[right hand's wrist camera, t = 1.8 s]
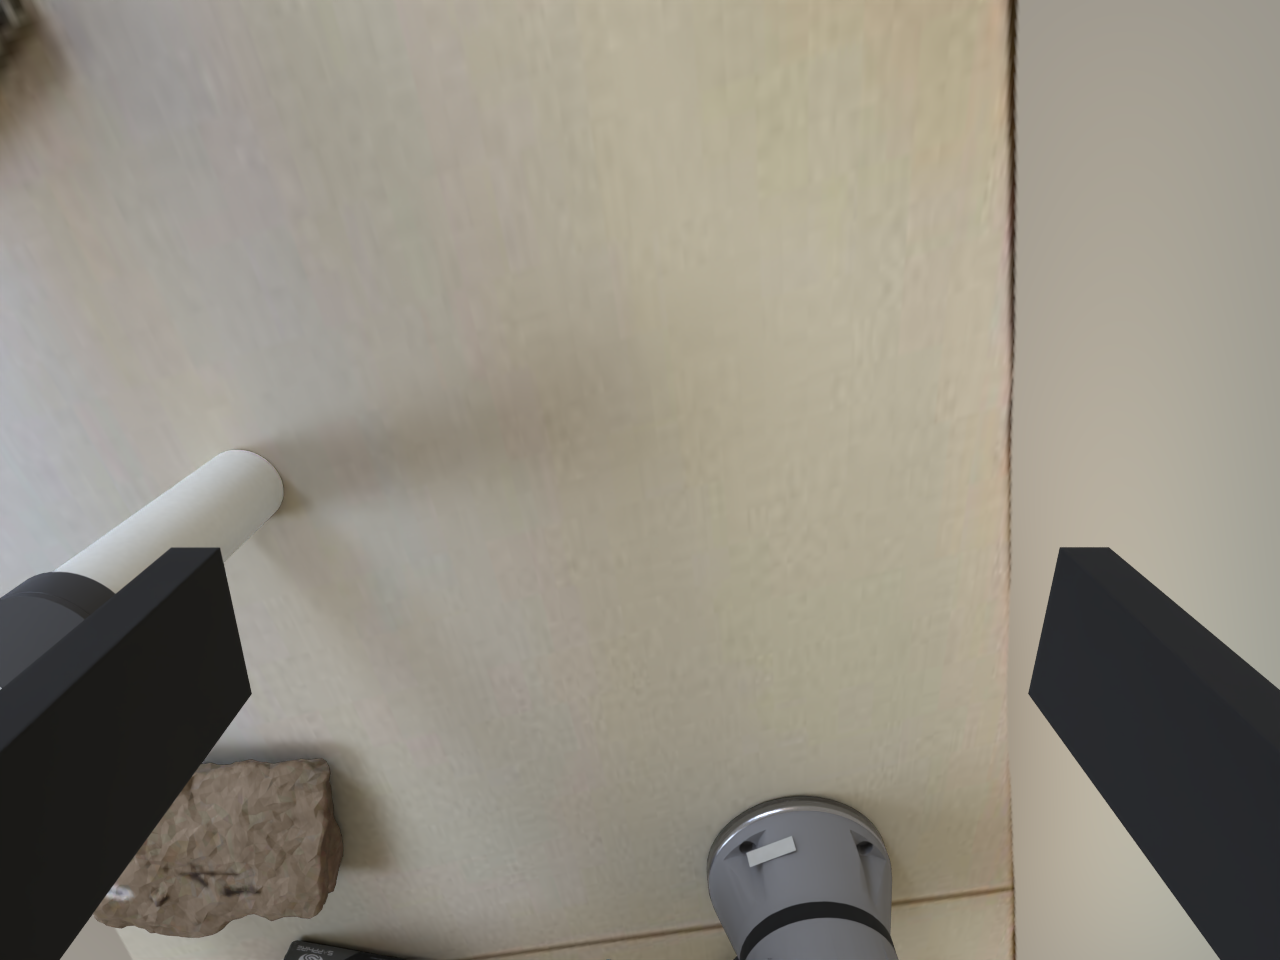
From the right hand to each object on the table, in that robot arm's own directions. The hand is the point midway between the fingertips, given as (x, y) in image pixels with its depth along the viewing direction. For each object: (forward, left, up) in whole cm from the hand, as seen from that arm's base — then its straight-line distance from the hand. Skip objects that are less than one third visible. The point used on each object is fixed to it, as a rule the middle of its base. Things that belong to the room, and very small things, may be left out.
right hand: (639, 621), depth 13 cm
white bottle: (-14, +27, -41) cm, 51 cm away
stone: (-43, +35, -41) cm, 69 cm away
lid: (-14, +27, -21) cm, 37 cm away
